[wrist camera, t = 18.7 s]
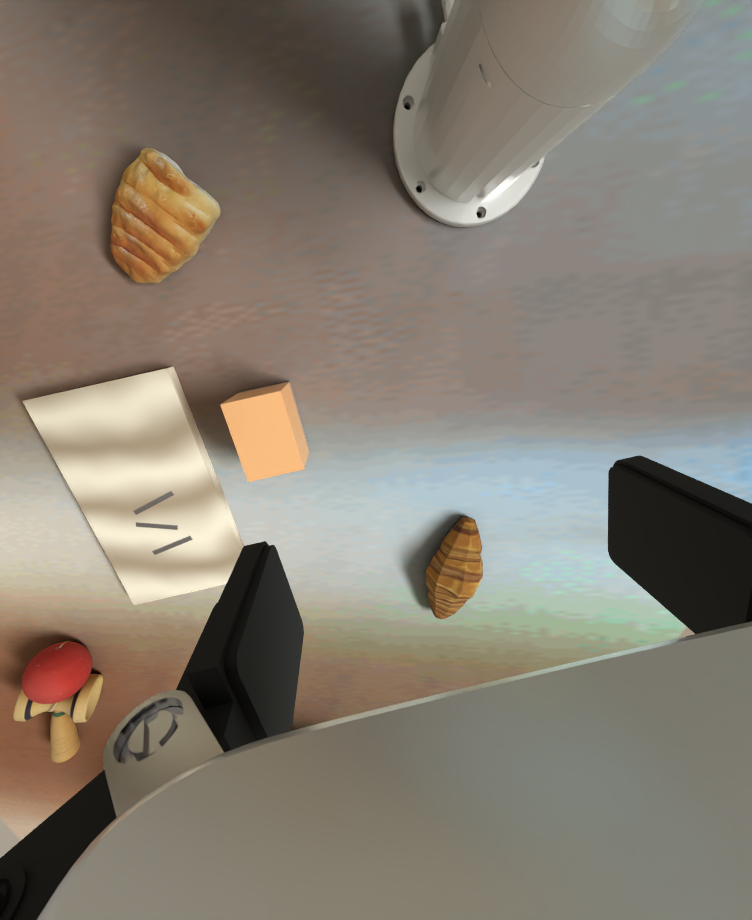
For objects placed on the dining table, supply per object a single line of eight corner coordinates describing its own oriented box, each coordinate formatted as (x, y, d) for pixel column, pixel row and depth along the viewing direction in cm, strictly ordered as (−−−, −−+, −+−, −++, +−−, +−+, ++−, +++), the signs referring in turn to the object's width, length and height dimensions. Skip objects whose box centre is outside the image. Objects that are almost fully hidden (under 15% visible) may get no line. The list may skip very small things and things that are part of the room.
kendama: (117, 729, 51) (112, 642, 43) (77, 785, 45) (64, 696, 37) (62, 712, 51) (48, 622, 43) (16, 765, 45) (-11, 673, 37)
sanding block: (239, 392, 36) (220, 404, 30) (290, 380, 36) (280, 390, 30) (261, 459, 38) (248, 482, 33) (309, 448, 38) (303, 469, 33)
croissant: (436, 508, 42) (447, 531, 37) (492, 516, 43) (510, 539, 38) (409, 605, 46) (416, 637, 42) (461, 611, 47) (474, 642, 43)
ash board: (35, 398, 35) (22, 401, 33) (173, 366, 35) (166, 368, 33) (140, 595, 42) (133, 605, 41) (253, 569, 43) (250, 578, 41)
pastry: (174, 304, 33) (153, 301, 30) (99, 250, 31) (67, 241, 28) (230, 208, 31) (215, 192, 28) (153, 145, 29) (126, 119, 26)
